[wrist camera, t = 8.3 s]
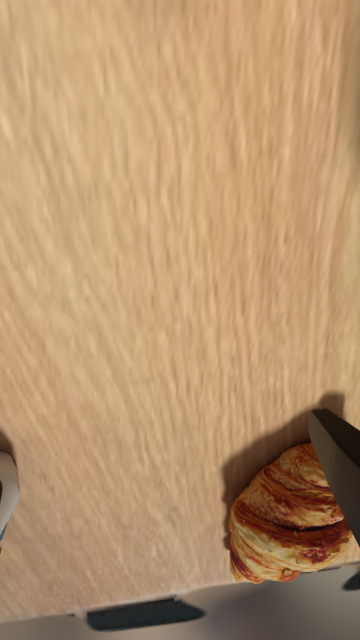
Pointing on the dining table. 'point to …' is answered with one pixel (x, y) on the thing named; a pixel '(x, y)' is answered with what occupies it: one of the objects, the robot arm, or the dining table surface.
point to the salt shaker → (8, 488)
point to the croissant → (286, 521)
